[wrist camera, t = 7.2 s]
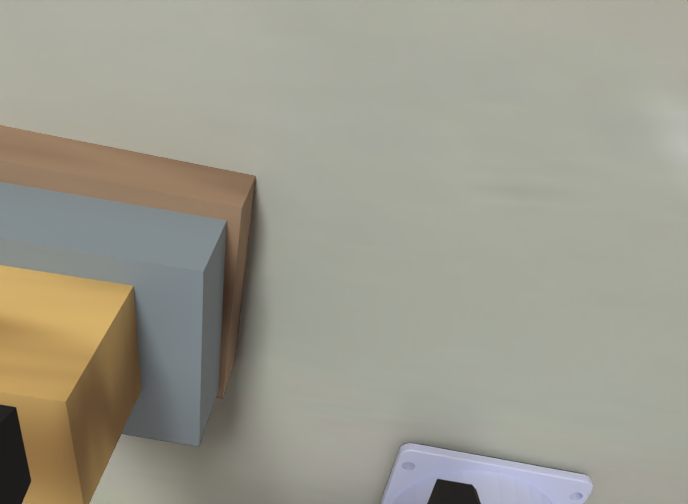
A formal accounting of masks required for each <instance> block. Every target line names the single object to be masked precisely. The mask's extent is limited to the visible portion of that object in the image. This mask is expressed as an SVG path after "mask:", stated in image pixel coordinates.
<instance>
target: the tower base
mask: <svg viewBox="0 0 688 504" xmlns="http://www.w3.org/2000/svg"><path fill="white" fill-rule="evenodd" d="M0 182H4V183H10V184H16V185H22V186H28V187H34V188H39V189H45V190H51V191H57V192H63V193H69V194H75V195H81V196H87V197H92V198H98V199H104V200H110V201H116V202H122V203H128V204H134V205H139V206H145V207H151V208H157V209H163V210H169V211H175V212H181V213H187V214H192V215H198V216H204V217H210V218H216V219H222V220H227V226H226V247H225V268H224V289H223V310H222V330H221V351H220V372H219V389H218V392H217V395H216V398H222V399H223V397H224V393H225V390H226V387H227V384H228V381H229V378H230V375H231V372H232V368H233V365H234V362H235V357H236V348H237V339H238V330H239V321H240V312H241V303H242V294H243V285H244V276H245V267H246V258H247V249H248V240H249V231H250V222H251V213H252V204H253V195H254V185H255V176H254V175H248V174H243V173H238V172H233V171H228V170H223V169H218V168H213V167H208V166H203V165H198V164H193V163H188V162H183V161H178V160H173V159H168V158H163V157H158V156H152V155H147V154H142V153H137V152H132V151H127V150H122V149H117V148H112V147H107V146H102V145H97V144H92V143H87V142H82V141H77V140H72V139H67V138H62V137H56V136H51V135H46V134H41V133H36V132H31V131H26V130H21V129H16V128H11V127H6V126H1V125H0Z"/></svg>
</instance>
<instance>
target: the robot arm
mask: <svg viewBox="0 0 688 504" xmlns="http://www.w3.org/2000/svg"><path fill="white" fill-rule="evenodd" d="M30 483H31V476H30V471H29V467H28V462H27V457H26V452H25V447H24V442H23V438H22V433H21V428H20V423H19V418H18V413H17V409H16V407H12V406H6V405H1V404H0V504H22V502H23V500H24V497H25V495H26V493H27V490H28V488H29V486H30ZM592 490H593V484H592V481H591V478H590V477H589V476H587V475H584V474H579V473H574V472H568V471H563V470H557V469H552V468H546V467H541V466H535V465H530V464H524V463H519V462H513V461H508V460H502V459H497V458H491V457H486V456H480V455H475V454H469V453H464V452H458V451H453V450H447V449H442V448H436V447H431V446H425V445H420V444H414V443H408V444H404V445H403V446H401V447H400V449H399V451H398V454H397V457H396V460H395V462H394V465H393V468H392V471H391V474H390V477H389V480H388V482H387V485H386V488H385V491H384V494H383V497H382V499H381V502H380V504H584V502H585V501H586V499H587V498H588V496H589V495H590V493H591V492H592Z"/></svg>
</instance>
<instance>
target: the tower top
mask: <svg viewBox="0 0 688 504" xmlns="http://www.w3.org/2000/svg"><path fill="white" fill-rule="evenodd" d="M226 226H227V220H222V219H216V218H210V217H204V216H198V215H192V214H187V213H181V212H175V211H169V210H163V209H157V208H151V207H145V206H139V205H134V204H128V203H122V202H116V201H110V200H104V199H98V198H92V197H87V196H81V195H75V194H69V193H63V192H57V191H51V190H45V189H39V188H34V187H28V186H22V185H16V184H10V183H4V182H0V265H3V266H10V267H16V268H22V269H29V270H35V271H42V272H48V273H55V274H61V275H67V276H74V277H80V278H87V279H93V280H100V281H106V282H113V283H119V284H125V285H132V286H133V287H134V300H135V314H136V327H137V341H138V355H139V368H140V382H141V393H140V395H139V397H138V399H137V401H136V403H135V406H134V408H133V410H132V412H131V414H130V416H129V418H128V421H127V423H126V425H125V427H124V429H123V431H122V434H125V435H131V436H137V437H143V438H149V439H155V440H161V441H167V442H173V443H179V444H185V445H191V446H198V447H199V446H200V443H201V440H202V437H203V434H204V431H205V428H206V425H207V422H208V419H209V416H210V413H211V410H212V407H213V404H214V401H215V398H216V395H217V392H218V389H219V372H220V351H221V330H222V310H223V289H224V268H225V247H226Z"/></svg>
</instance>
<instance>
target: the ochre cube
mask: <svg viewBox="0 0 688 504" xmlns="http://www.w3.org/2000/svg"><path fill="white" fill-rule="evenodd" d="M140 393H141V382H140V368H139V355H138V341H137V327H136V314H135V300H134V287H133V286H132V285H125V284H119V283H113V282H106V281H100V280H93V279H87V278H80V277H74V276H67V275H61V274H55V273H48V272H42V271H35V270H29V269H22V268H16V267H10V266H3V265H0V404H1V405H6V406H12V407H16V409H17V413H18V418H19V423H20V428H21V433H22V438H23V442H24V447H25V452H26V457H27V462H28V467H29V471H30V476H31V483H30V486H29V488H28V490H27V493H26V495H25V497H24V500H23V502H22V503H27V504H89V503H90V501H91V498H92V496H93V494H94V492H95V490H96V488H97V485H98V483H99V481H100V479H101V477H102V475H103V472H104V470H105V468H106V466H107V464H108V462H109V459H110V457H111V455H112V453H113V451H114V449H115V447H116V444H117V442H118V440H119V438H120V436H121V434H122V431H123V429H124V427H125V425H126V423H127V421H128V418H129V416H130V414H131V412H132V410H133V408H134V406H135V403H136V401H137V399H138V397H139V395H140Z"/></svg>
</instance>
